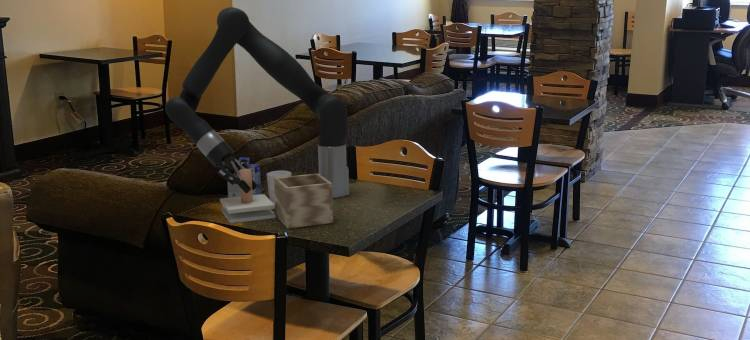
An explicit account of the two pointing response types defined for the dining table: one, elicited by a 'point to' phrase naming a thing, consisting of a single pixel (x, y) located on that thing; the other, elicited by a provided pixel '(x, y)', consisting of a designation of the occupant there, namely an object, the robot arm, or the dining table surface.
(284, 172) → the white cup
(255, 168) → the ink cartridge box
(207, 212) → the dining table surface
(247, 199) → the lid
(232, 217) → the plate
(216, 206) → the dining table surface
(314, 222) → the box
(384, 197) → the dining table surface
